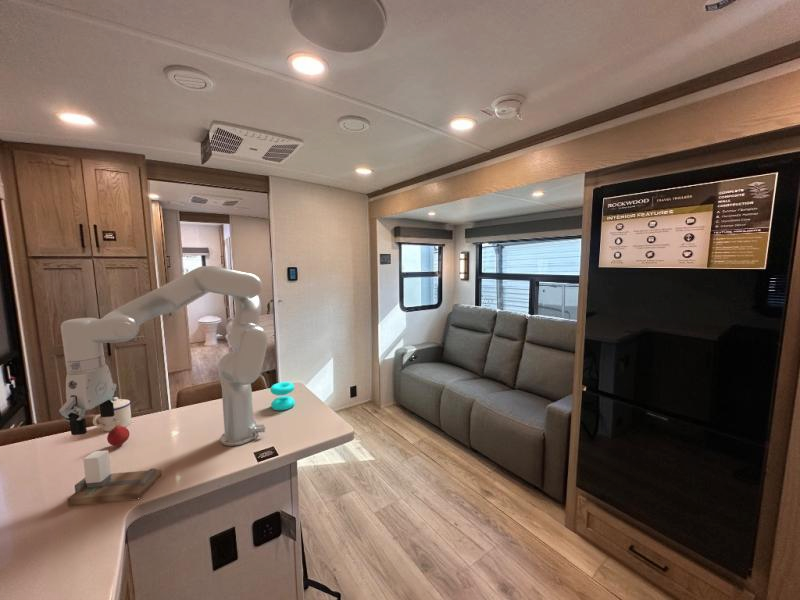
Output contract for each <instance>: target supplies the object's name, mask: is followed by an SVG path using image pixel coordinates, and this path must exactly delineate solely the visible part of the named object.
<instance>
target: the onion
mask: <svg viewBox="0 0 800 600" xmlns="http://www.w3.org/2000/svg"><path fill="white" fill-rule="evenodd" d="M129 438H130V431H129V429H128V428H127V427H122V426H120V424H117V425H116V426H115V427H114V428H113V429H112V430H111V431H108V434H107V437H106V439H107V443H108V444H109V445H111V446H114V447H121V446H123V444H124V443H126V441H127V440H128V439H129Z"/></svg>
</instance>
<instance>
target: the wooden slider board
mask: <svg viewBox="0 0 800 600" xmlns="http://www.w3.org/2000/svg"><path fill="white" fill-rule="evenodd" d="M110 475H111V480H110V481H109V482H108V483H107V484H106V485H104V486H102V487H91V488H87V483H86V478H85V477H84V478H82V479H81V480H80V481H78V482H77V483H76V484H75V485H74V492H73V493H72V495H70V496H69V497H68V498H67V499H66V500H67V506H68V507H72V506H73V507H74V506H83V505H93V503H95V504H104V503H105V504H106V503H116V502H124V501H123V500H126V501H132V500H131V499H137V500H139V499H138V498H140V497H141V496H142V495H143V494H144V493H145V492H146V491H147V492H148V491H149V490H150V488H151V487H152V486H154V484H155V483H156V482H157V481H158V480H159V479H160V478H161V477H162V469H156V468H154V467H153V468H150V469H149V470H140V471H139V470H138V471H127V472H126V471H125V472H113V473H111V474H110ZM157 479H158V480H157ZM156 480H157V481H156ZM155 481H156V482H155ZM154 482H155V483H154ZM145 494H146V493H145ZM145 494H144V495H145ZM144 495H143V496H144ZM143 496H142V497H143ZM142 497H141V498H142ZM141 498H140V499H141ZM115 501H116V502H115Z"/></svg>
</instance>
